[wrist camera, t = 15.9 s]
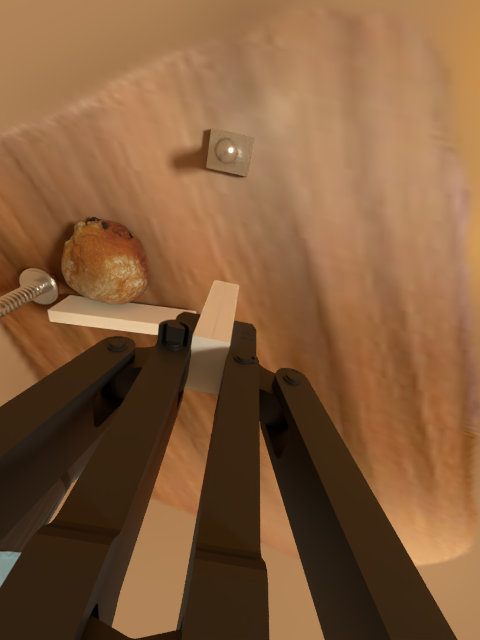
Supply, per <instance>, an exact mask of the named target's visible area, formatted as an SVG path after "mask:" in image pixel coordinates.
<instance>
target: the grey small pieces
mask: <svg viewBox="0 0 480 640" xmlns="http://www.w3.org/2000/svg"><path fill="white" fill-rule="evenodd" d="M253 143H254V137H249V136H245V135H241V134H236V133H232V132H227V131H223V130H219V129H214V128H211V134H210V141H209V149H208V157H207V165H206V168H210V169H214V170H219V171H223V172H228V173H232V174H237V175H241V176H246V177H247V175H248V170H249V164H250V159H251V154H252V148H253Z"/></svg>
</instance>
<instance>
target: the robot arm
mask: <svg viewBox="0 0 480 640" xmlns="http://www.w3.org/2000/svg"><path fill="white" fill-rule="evenodd" d="M238 291H239V285H237V284H232V283H227V282H222V281H218V280H214V282H213V285H212V288H211V290H210V293H209V295H208V298H207V300H206V303H205V305H204V308H203V311H202V313H201V315H200V314H195V313H190V312H185V311H184V312H182V313H180V314H179V315H177V317H176V319H171V320H165V321H162V322H161V323H160V324H159V328H158V340H157V344H156V345H155V346H153V347H146V348H135V342H134V341H133V340H131V339H129V338H127V337H122V336H114V337H108V338H106V339H104V340H102V341H100V342H99V343H97V344H96V345H94V346H92V347H91V348H89V349H88V350H86V351H85V352H83V353H82V354H80V355H79V356H77V357H76V358H74V359H73V360H71V361H70V362H68V363H66V364H65V365H63V366H62V367H60V368H59V369H57V370H56V371H54V372H53V373H51V374H50V375H48V376H47V377H45V378H43V379H42V380H40V381H39V382H37V383H36V384H34V385H33V386H31V387H30V388H28V389H27V390H25V391H24V392H22V393H21V394H19V395H18V396H16V397H15V398H13V399H12V400H10V401H8V402H7V403H5V404H4V405H3V406H1V407H0V640H269V610H268V609H269V608H268V578H267V569H266V564H265V562H264V560H263V559H262V557H261V550H260V438H259V421H260V426H261V430H262V433H263V436H264V440H265V443H266V446H267V450H268V453H269V456H270V460H271V463H272V466H273V470H274V473H275V476H276V480H277V483H278V486H279V489H280V493H281V496H282V499H283V503H284V506H285V509H286V513H287V516H288V519H289V523H290V526H291V529H292V533H293V536H294V539H295V543H296V546H297V549H298V552H299V556H300V559H301V562H302V566H303V569H304V572H305V575H306V579H307V582H308V586H309V589H310V592H311V596H312V599H313V602H314V605H315V609H316V612H317V615H318V619H319V622H320V625H321V629H322V632H323V635H324V639H325V640H457V638H456V636H455V635H454V633H453V631H452V630H451V628H450V626H449V624H448V623H447V621H446V619H445V617H444V616H443V614H442V612H441V610H440V609H439V607H438V605H437V603H436V602H435V600H434V598H433V596H432V595H431V593H430V591H429V590H428V588H427V586H426V584H425V583H424V581H423V579H422V577H421V576H420V574H419V572H418V570H417V569H416V567H415V565H414V563H413V562H412V560H411V558H410V556H409V555H408V553H407V551H406V549H405V548H404V546H403V544H402V543H401V541H400V539H399V537H398V536H397V534H396V532H395V530H394V529H393V527H392V525H391V523H390V522H389V520H388V518H387V516H386V515H385V513H384V511H383V509H382V508H381V506H380V504H379V502H378V501H377V499H376V497H375V496H374V494H373V492H372V490H371V489H370V487H369V485H368V483H367V482H366V480H365V478H364V476H363V475H362V473H361V471H360V469H359V468H358V466H357V464H356V462H355V461H354V459H353V457H352V456H351V454H350V452H349V450H348V449H347V447H346V445H345V443H344V442H343V440H342V438H341V436H340V435H339V433H338V431H337V429H336V428H335V426H334V424H333V422H332V421H331V419H330V417H329V416H328V414H327V412H326V410H325V409H324V407H323V405H322V403H321V402H320V400H319V398H318V396H317V395H316V393H315V391H314V389H313V388H312V386H311V384H310V382H309V381H308V379H307V378H306V377H305V375H303V374H302V373H301V372H299V371H297V370H295V369H291V368H281V369H279V370H277V372H276V374H275V373H273V372H271V371H268V370H266V369H265V368H263V367H262V366H261V365H260V364H259V360H258V358H257V357H256V329H255V327H254V326H253V325H252V324H248V323H243V322H239V321H234V317H235V310H236V304H237V297H238ZM185 384H186V386H185ZM184 387H185V389H188V390H193V391H199V392H204V393H209V394H215V395H219V396H218V400H217V405H216V410H215V414H214V422H213V428H212V434H211V439H210V445H209V451H208V456H207V462H206V468H205V473H204V479H203V485H202V490H201V496H200V502H199V507H198V513H197V519H196V524H195V530H194V536H193V542H192V548H191V553H190V558H189V564H188V570H187V575H186V581H185V587H184V593H183V599H182V603H181V609H180V614H179V619H178V624H177V629H176V631H171V632H167V633H162V634H157V635H152V636H148V637H143V638H138V639H132V638H129V637H127V636H125V635H123V634H122V633H120V632H119V631H117V630H115V629H114V628H112V623H113V619H114V615H115V611H116V607H117V602H118V598H119V594H120V590H121V587H122V584H123V581H124V577H125V575H126V571H127V568H128V565H129V562H130V559H131V556H132V553H133V550H134V547H135V543H136V541H137V537H138V534H139V531H140V528H141V525H142V522H143V519H144V516H145V513H146V510H147V507H148V503H149V500H150V497H151V494H152V491H153V488H154V485H155V482H156V479H157V476H158V473H159V469H160V466H161V463H162V460H163V457H164V454H165V451H166V448H167V445H168V442H169V439H170V435H171V432H172V429H173V426H174V423H175V420H176V417H177V414H178V411H179V408H180V405H181V401H182V398H183V393H184ZM79 476H80V477H79ZM78 477H79V478H78ZM77 478H78V480H77V482H76V483H75V485H74V487H73V489H72V490H71V492H70V494H69V496H68V497H67V499H66V501H65V503H64V505H63V506H62V508H61V510H60V511H59V513H58V514H57V516H56V517H55V519H54V520H53V521H52V522H51V523H49V521H50V519H51V518H52V516H53V514H54V513H55V511H56V509H57V508H58V506H59V504H60V502H61V501H62V499H63V497H64V496H65V494H66V492H67V490H68V489H69V487H70V486H71V484H72V483H73V482H74V481H75V480H76V479H77ZM48 523H49V524H48Z"/></svg>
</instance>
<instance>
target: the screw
mask: <svg viewBox="0 0 480 640" xmlns="http://www.w3.org/2000/svg"><path fill="white" fill-rule="evenodd" d="M19 281H20V286H21V287H20V288H17V289H16V290H13V291H12V292H9V293H8V294H5V295H4V296H1V297H0V317H3V316H4V315H5V314H8V313H9V312H12V311H13V310H15V309H17V308H19V307H20V306H22V305H24V304H25V303H27V302H29V301H31V300H33V301H35V302H37V303H40V304H50V303H52V302H54V301H56V300H57V298H58V296H59V292H60V291H59V286H60V285H59V283H58V280H57V278H56V276H55V275H53V274H50V273H48V272H47V271H45V270H43V269H40V268H29V269H26V270H24V271H23V272H22V273H21V275H20V279H19Z"/></svg>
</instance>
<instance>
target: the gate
mask: <svg viewBox="0 0 480 640" xmlns="http://www.w3.org/2000/svg"><path fill="white" fill-rule="evenodd" d="M184 311H185V312H190V313H195V314H196V311H191V310H183V309H175V308H168V307H160V306H152V305H144V304H136V303H126V304H106V303H103V302H101V301H94V300H90V299H88V298H86V297H81V296H73V295H70V296H68V297H67V298H65V299H64V300H62V301H61V302H59V303H58V304H56V305H55V306H53V307H52V308H50V309H49V310H48V314H49V319H50V321H51V322H59V323H67V324H75V325H83V326H90V327H98V328H106V329H114V330H122V331H130V332H137V333H145V334H153V335H158V328H159V324H160V323H161V322H162V321H165V320H171V319H176V317H177V315H179V314H180V313H182V312H184Z"/></svg>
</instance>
